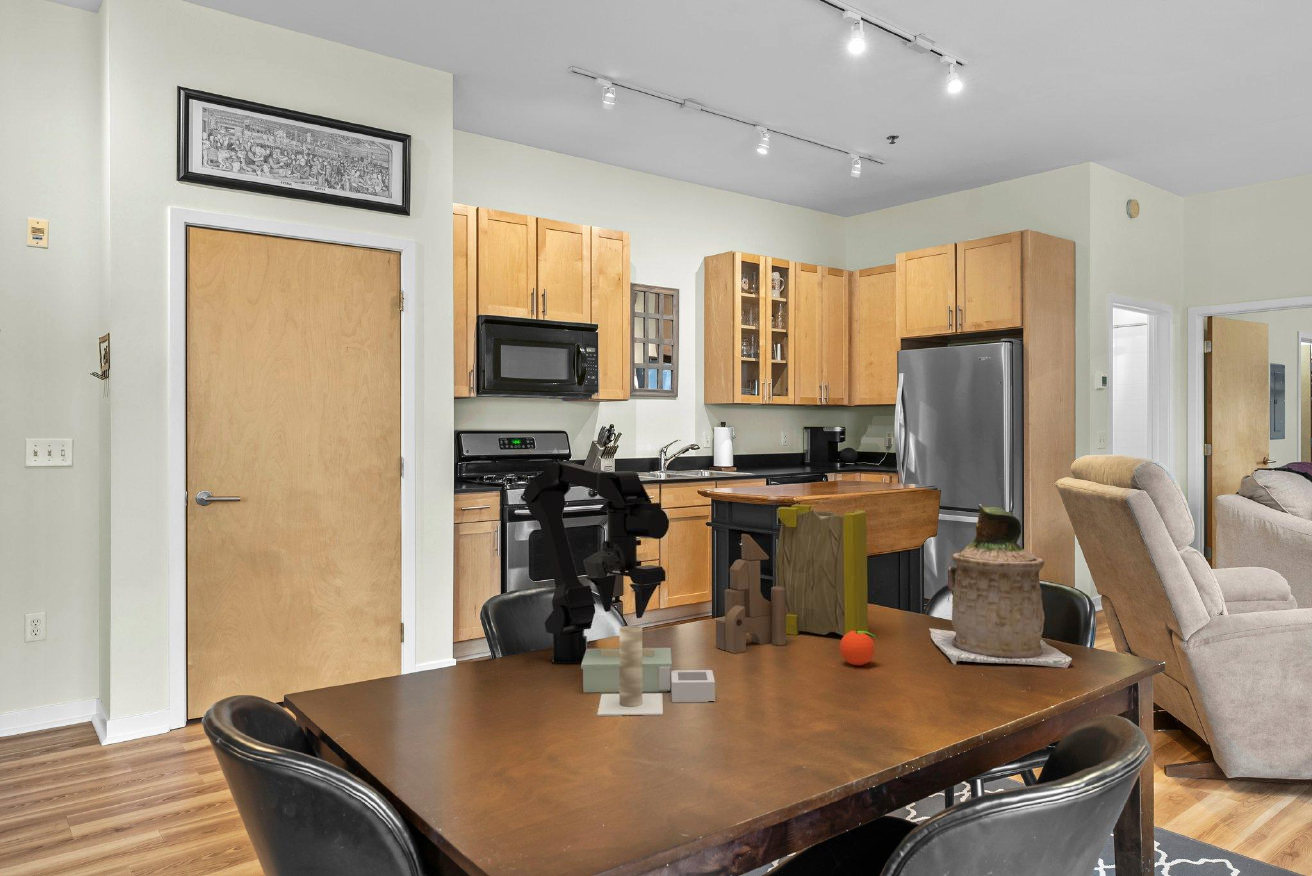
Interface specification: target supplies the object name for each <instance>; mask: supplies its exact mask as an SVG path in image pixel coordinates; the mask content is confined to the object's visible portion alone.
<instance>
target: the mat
mask: <svg viewBox="0 0 1312 876" xmlns="http://www.w3.org/2000/svg"><path fill="white" fill-rule="evenodd" d="M663 710H664V709H663V692H655V693H654V692H653V693H652V692H646V693H642V704H641V705H639V706H634V707H627V706H622V705H620V693H601V696H600V700H599V705H598V709H597V713H596V715H597V717H602V716H603V717H614V716H615V717H623V716H622V715H627V717H628V715H644V716H663V715H664V711H663Z"/></svg>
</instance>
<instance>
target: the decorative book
mask: <svg viewBox="0 0 1312 876" xmlns="http://www.w3.org/2000/svg"><path fill="white" fill-rule="evenodd" d="M777 518H778V519H780V521H781V523H780V528H779V529H780V530H779V536H778V541H777V542H778V543H777V547H776V552H775V587H776V586H780V587H784V588H785V589H786V635H792V636H798V635H799V634H800V632H807V633H808V632H809V633H812V634H818V635H823V636H824V635H825V636H826V635H828V634H830V633H836V634H838V635H841V637H842V636H843V637H844V635H846V634H847V633H848V632H850V631H856V630H858V631H865V632H869V628H868V627H869V621H868V620H869V619H868V611H869V609H868V605H869V604H868V541H867V540H868V538H867V537H868V535H867V534H868V533H867V530H868V529H867V528H868V527H867V521H868V520H867V511H866V510H855V511H854V512H851V513H850V512H849V513H844V514H842V515H841V514H840V515H839V514H838V513H835V512H830V511H825V510H821V511H820V510H814V509H812V505H811V504H792V505H791V506H790V507H789V506H780V507H777Z"/></svg>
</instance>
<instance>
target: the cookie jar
mask: <svg viewBox="0 0 1312 876" xmlns="http://www.w3.org/2000/svg"><path fill="white" fill-rule="evenodd" d="M978 508H979V514H978V517H977V522H976V525H975V533H976V535H975V537H974V539H973V541H972V542H970V543H968V545H967V546H966V547H965V548H964V549H963V550H962V551H961V552H956V553H953V554H952V556H951V557H952V561H953V563H954V565H955V566H956V567H955V566H949V567H948V569H947V587H948V589H949V590H950V593H951V595H952V601H951V603H952V605H951V606H952V609H951V612H952V613H951V624H952V628H953V630H945V629H938V628H928V629H929V632H930V637H931V639H932V641H933V643H934V644H935V645H936V646H937V647H938V648H939V649H940V651H941V652H943V653H944V655H946V656H947V657H948V658H949V659H950V661H951V663H952V665H957V662H961V661H962V662H974V663H987V664H988V663H990V664H995V663H996V664H1017V665H1028V666H1029V665H1030V666H1031V665H1032V666H1033V665H1034V666H1044V667H1051V668H1065V669H1066V668H1068V667H1069V666H1070V664H1071V662H1072V660H1073V658H1072V657H1071V656H1069V655H1067V653H1066V654H1065V653H1064V652H1061V651H1060V650H1059V649H1058V648H1055V647H1053V646H1051V645H1050V644H1048V643H1046V641H1044V640H1043V639H1042V635H1043V632H1044V624H1045V611H1044V609H1043V608H1044V607H1043V599H1042V593H1043V592H1042V588H1041V582H1040V571H1041V570H1042V569H1043V568H1044V566H1045V561H1044V559H1042V558H1040V557H1036V556H1035V555H1034V554H1033V553H1031V552H1029V550H1026V549H1024V548H1023V547H1022V546H1021V545H1020V544H1018V541H1019V539H1020V537H1021V534H1022V525H1021V522H1020V519H1018V517H1016V516H1015V515H1014V514H1011V513H1010V512H1008V511H1006V510H1004V508H1003V509H1002V508H1001V507H998V506H989V507H988V506H987V507H986V506H984V505H982V504H981V503H979V504H978Z"/></svg>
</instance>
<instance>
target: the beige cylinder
mask: <svg viewBox="0 0 1312 876" xmlns="http://www.w3.org/2000/svg"><path fill="white" fill-rule="evenodd" d="M618 629H619V632H618V633H619V635H618V636H619V639H618V640H619V645H618V646H619V647H618V648H619V686H620V692H619V694H620V705H622V706H627V707H634V706H639V705H641V704H642V694H643V692H642V648H643V627H642V626H639V625H638V626H637V625H626V626H620V627H619V628H618Z"/></svg>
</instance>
